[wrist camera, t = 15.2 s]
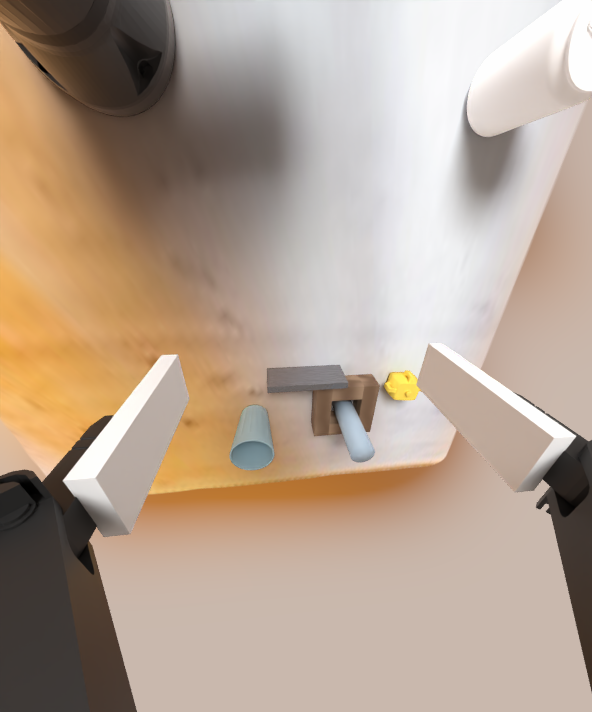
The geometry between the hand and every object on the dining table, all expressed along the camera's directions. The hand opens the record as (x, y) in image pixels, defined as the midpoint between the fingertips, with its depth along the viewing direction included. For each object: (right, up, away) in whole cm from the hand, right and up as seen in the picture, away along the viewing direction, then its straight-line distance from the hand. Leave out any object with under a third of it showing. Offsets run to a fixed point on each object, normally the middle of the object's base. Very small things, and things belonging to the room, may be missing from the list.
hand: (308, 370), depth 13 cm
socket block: (+9, -8, +39) cm, 41 cm away
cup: (-9, -11, +38) cm, 41 cm away
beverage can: (+24, +34, +18) cm, 45 cm away
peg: (+9, -8, +39) cm, 41 cm away
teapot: (+21, -3, +38) cm, 43 cm away
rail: (+1, -2, +34) cm, 34 cm away
